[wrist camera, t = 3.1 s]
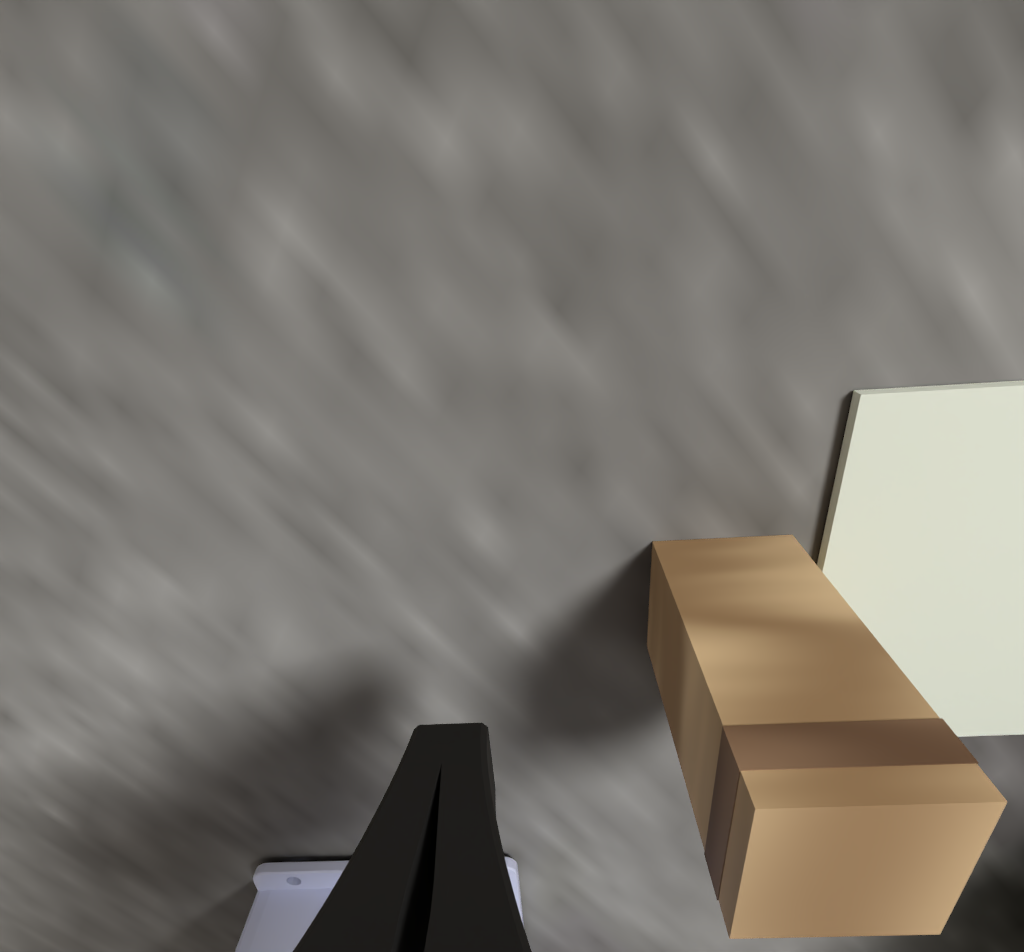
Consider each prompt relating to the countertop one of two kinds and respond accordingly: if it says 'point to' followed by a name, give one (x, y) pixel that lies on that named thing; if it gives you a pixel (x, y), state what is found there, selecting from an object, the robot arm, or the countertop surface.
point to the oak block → (807, 749)
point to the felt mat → (937, 543)
